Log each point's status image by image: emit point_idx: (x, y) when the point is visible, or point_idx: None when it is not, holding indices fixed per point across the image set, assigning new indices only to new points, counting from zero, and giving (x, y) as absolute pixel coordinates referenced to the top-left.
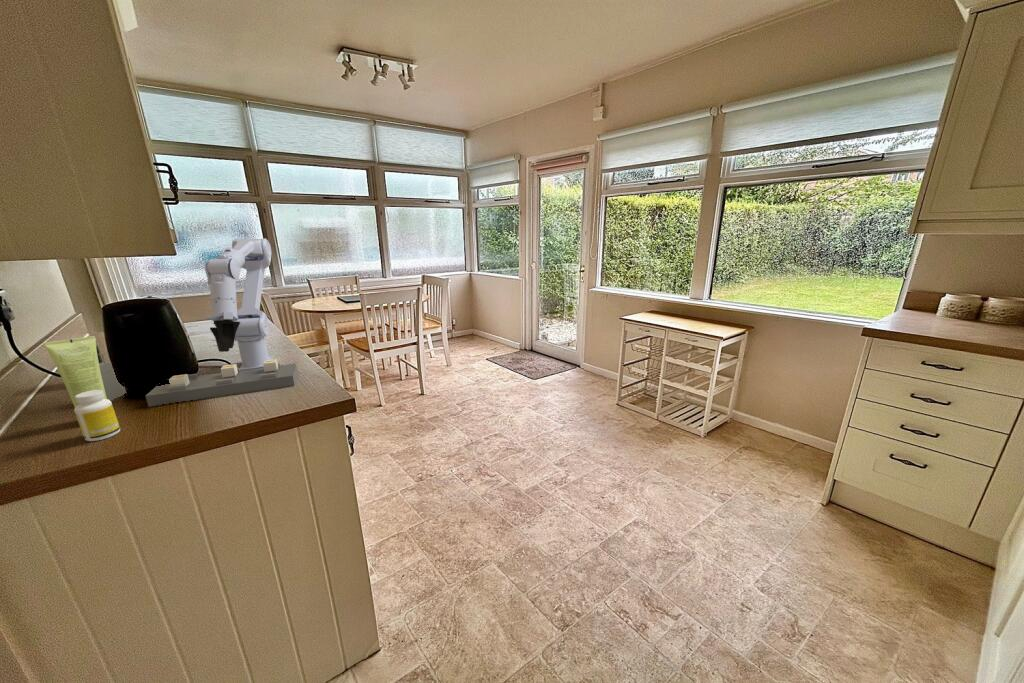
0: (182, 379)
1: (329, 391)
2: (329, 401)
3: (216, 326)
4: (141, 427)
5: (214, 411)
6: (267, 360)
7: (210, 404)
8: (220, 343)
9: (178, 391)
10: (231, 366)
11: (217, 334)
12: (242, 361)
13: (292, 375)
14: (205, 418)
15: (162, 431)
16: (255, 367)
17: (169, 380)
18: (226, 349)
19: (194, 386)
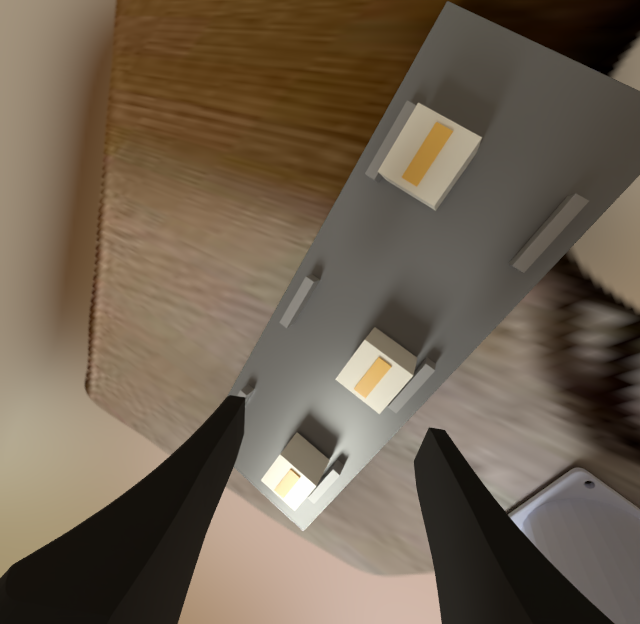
0: (382, 167)
1: (140, 422)
2: (99, 383)
3: (106, 550)
4: (251, 9)
5: (211, 209)
6: (309, 489)
7: (271, 221)
8: (448, 491)
9: (368, 145)
10: (358, 383)
11: (488, 584)
12: (618, 527)
13: None
14: (184, 176)
15: (181, 65)
16: (523, 506)
17: (415, 107)
18: (419, 465)
19: (372, 212)
